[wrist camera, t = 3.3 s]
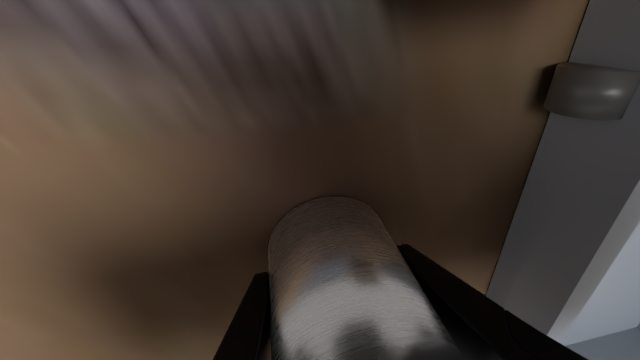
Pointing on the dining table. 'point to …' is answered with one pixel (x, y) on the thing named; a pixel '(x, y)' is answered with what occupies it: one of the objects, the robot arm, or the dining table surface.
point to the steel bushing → (347, 290)
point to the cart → (583, 198)
